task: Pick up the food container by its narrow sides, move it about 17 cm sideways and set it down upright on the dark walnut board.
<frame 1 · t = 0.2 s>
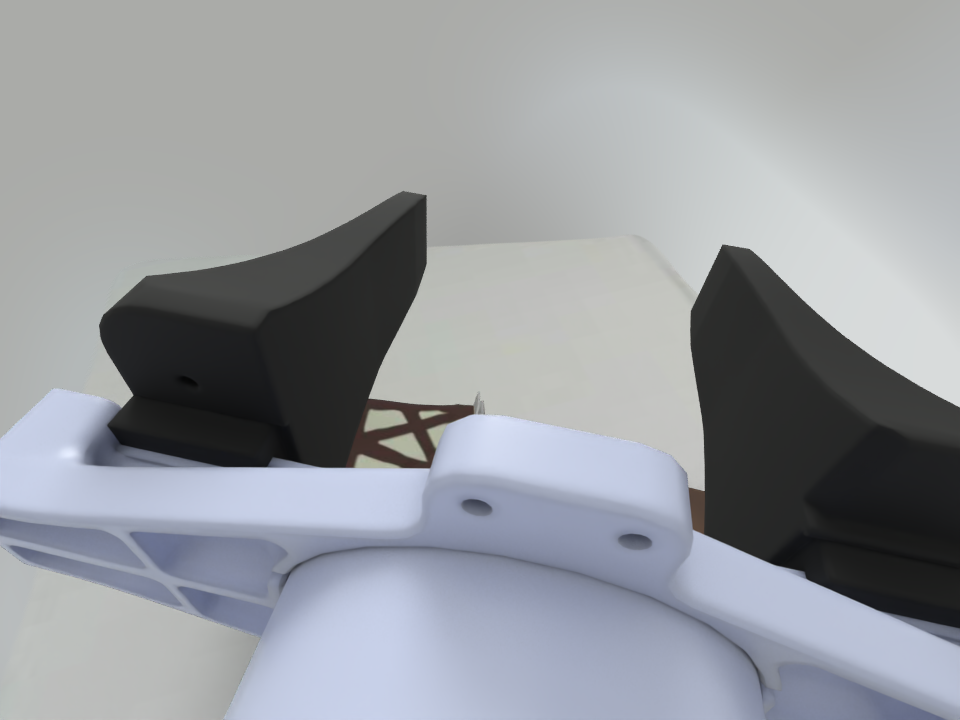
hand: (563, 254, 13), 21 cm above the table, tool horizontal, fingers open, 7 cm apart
walnut board: (674, 651, 27), on the table
food container: (360, 551, 29), on the table
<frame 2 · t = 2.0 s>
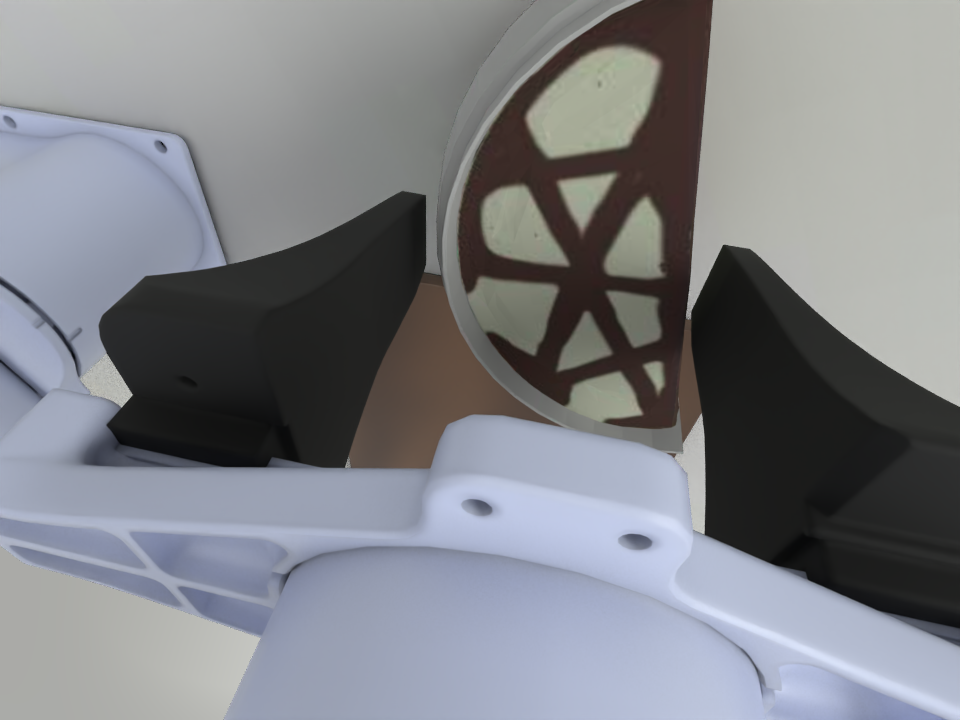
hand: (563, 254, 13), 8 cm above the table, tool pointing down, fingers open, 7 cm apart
walnut board: (501, 421, 31), on the table
food container: (579, 127, 19), on the table
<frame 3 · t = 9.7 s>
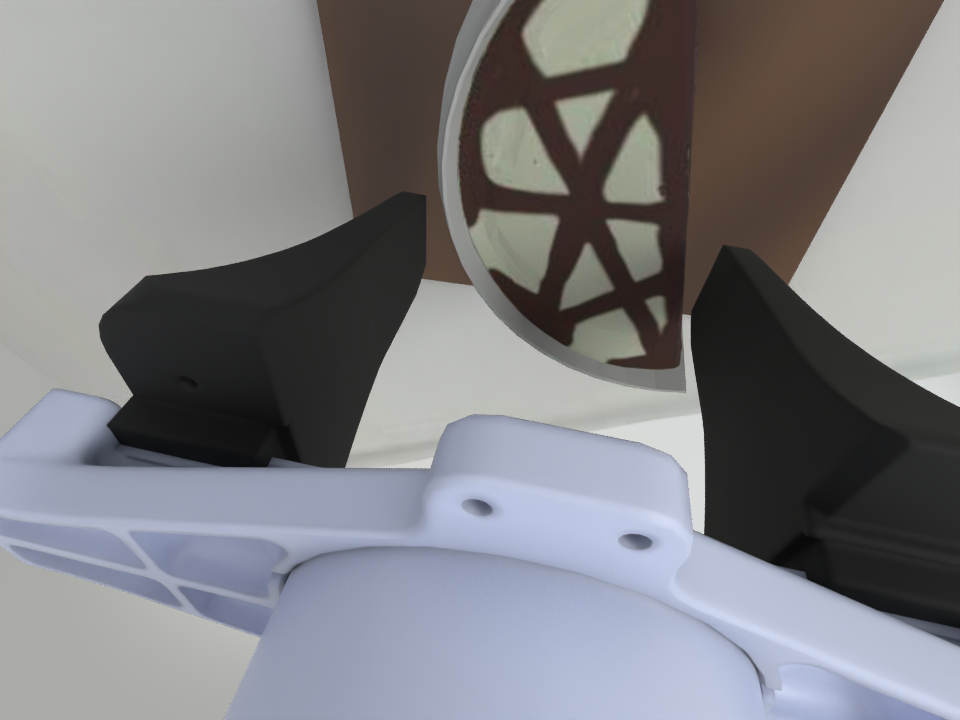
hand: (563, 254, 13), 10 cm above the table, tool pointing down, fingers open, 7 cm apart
walnut board: (589, 69, 19), on the table
food container: (586, 77, 19), point 1 cm above the table, touching gripper, walnut board
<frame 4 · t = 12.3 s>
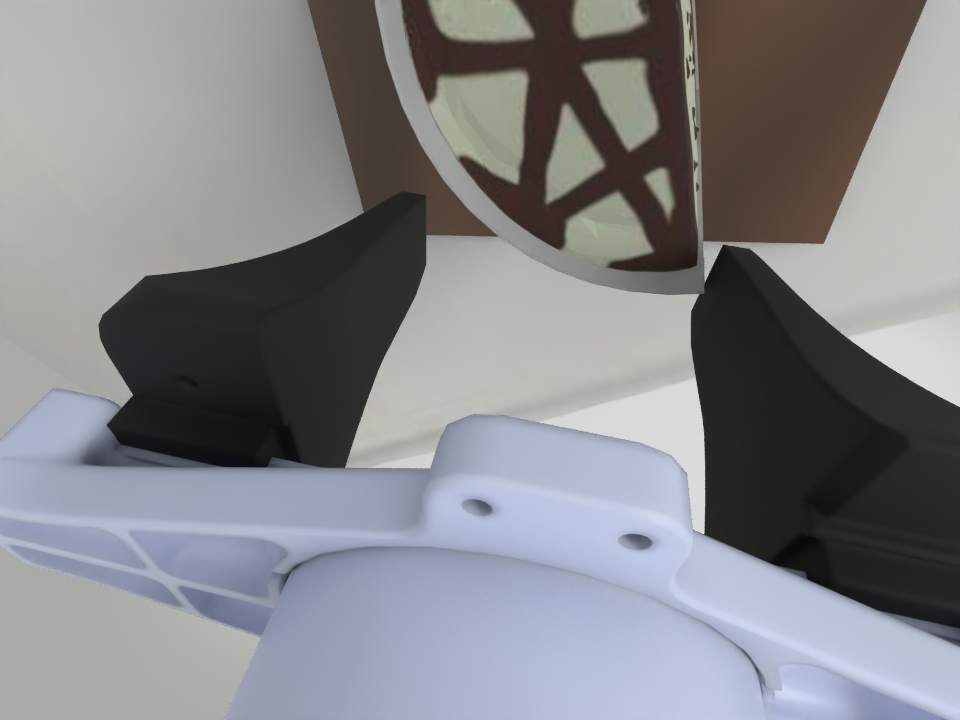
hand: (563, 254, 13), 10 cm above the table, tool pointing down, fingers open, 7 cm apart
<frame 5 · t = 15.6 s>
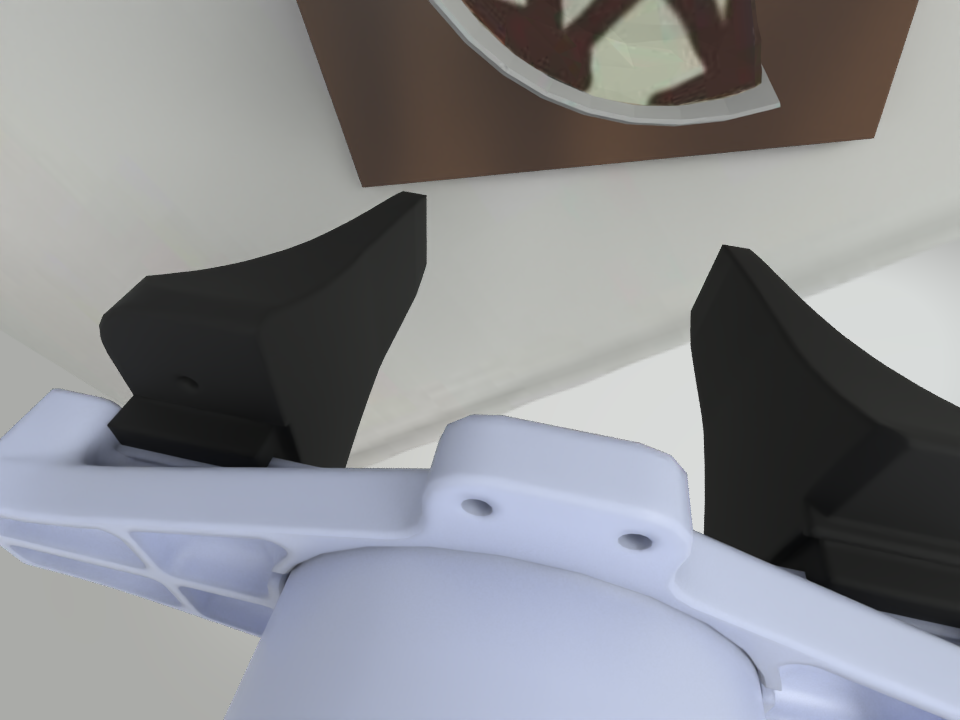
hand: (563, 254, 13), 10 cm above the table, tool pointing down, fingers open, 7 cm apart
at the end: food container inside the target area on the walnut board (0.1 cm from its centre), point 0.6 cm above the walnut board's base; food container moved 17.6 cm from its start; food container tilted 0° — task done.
